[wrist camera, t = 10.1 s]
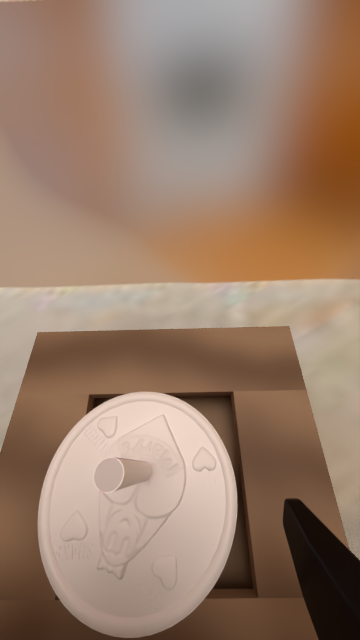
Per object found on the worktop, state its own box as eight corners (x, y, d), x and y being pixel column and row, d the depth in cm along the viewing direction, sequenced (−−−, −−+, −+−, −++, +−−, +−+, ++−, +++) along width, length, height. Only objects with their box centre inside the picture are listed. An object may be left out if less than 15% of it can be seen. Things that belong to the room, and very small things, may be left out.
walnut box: (348, 693, 12) (412, 783, 9) (-21, 694, 12) (-103, 782, 9) (272, 349, 21) (289, 326, 18) (61, 354, 21) (37, 332, 18)
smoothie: (222, 443, 17) (306, 387, 5) (196, 563, 14) (254, 1119, 2) (136, 413, 18) (40, 310, 6) (95, 518, 15) (-246, 711, 3)
